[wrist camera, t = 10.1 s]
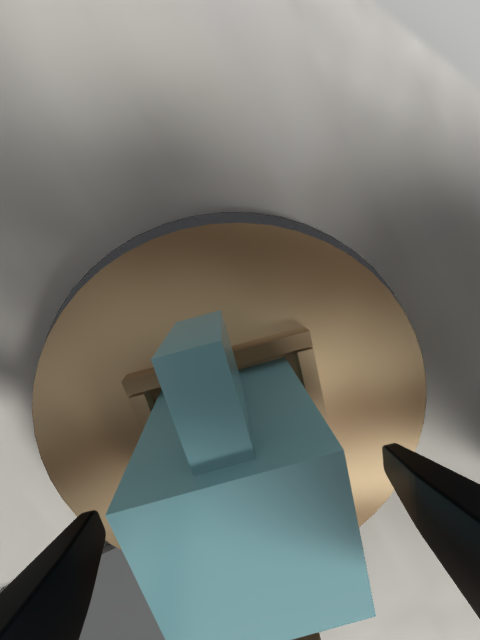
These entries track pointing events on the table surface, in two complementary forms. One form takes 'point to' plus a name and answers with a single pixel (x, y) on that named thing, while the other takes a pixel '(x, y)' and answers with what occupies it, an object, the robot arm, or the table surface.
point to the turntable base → (213, 219)
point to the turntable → (247, 344)
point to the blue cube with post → (238, 500)
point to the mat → (118, 603)
